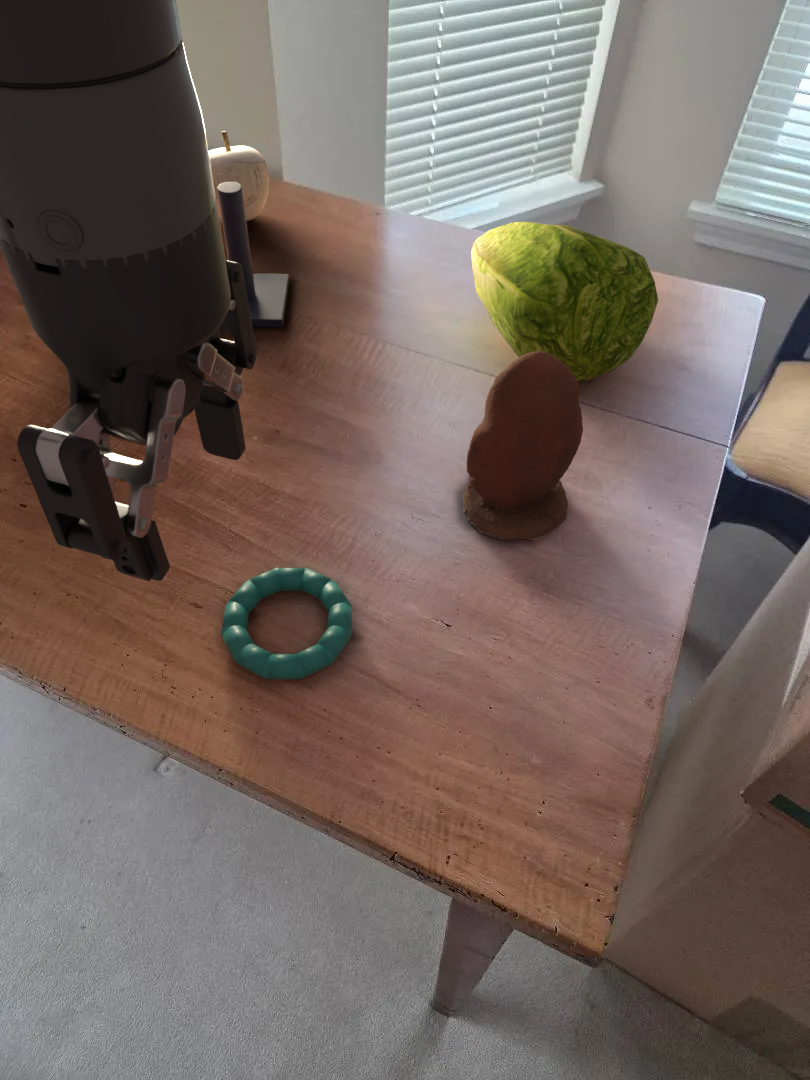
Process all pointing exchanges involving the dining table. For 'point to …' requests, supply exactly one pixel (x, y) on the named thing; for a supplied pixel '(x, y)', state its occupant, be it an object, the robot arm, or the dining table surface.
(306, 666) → the ring
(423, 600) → the dining table surface
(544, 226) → the lettuce
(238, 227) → the post
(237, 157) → the decorative object
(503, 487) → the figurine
